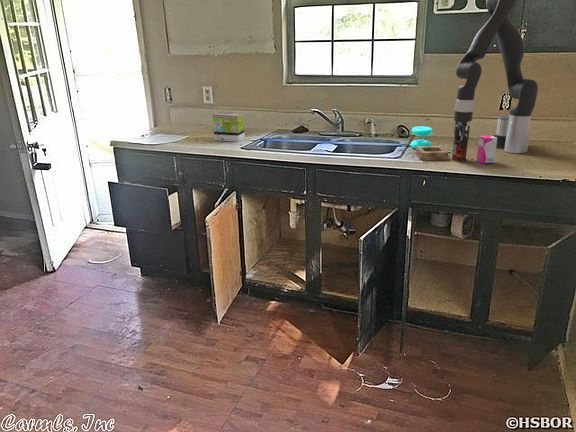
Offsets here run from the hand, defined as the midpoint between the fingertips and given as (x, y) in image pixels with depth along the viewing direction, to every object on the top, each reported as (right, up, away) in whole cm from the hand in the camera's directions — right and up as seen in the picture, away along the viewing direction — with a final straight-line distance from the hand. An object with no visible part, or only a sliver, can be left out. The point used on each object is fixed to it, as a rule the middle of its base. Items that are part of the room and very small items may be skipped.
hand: (459, 146), depth 212 cm
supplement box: (+10, -8, -3) cm, 13 cm away
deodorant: (0, -6, +2) cm, 6 cm away
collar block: (-10, -4, +8) cm, 14 cm away
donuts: (-10, +3, +25) cm, 27 cm away
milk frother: (+29, +4, +26) cm, 39 cm away
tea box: (-110, +12, +55) cm, 123 cm away
